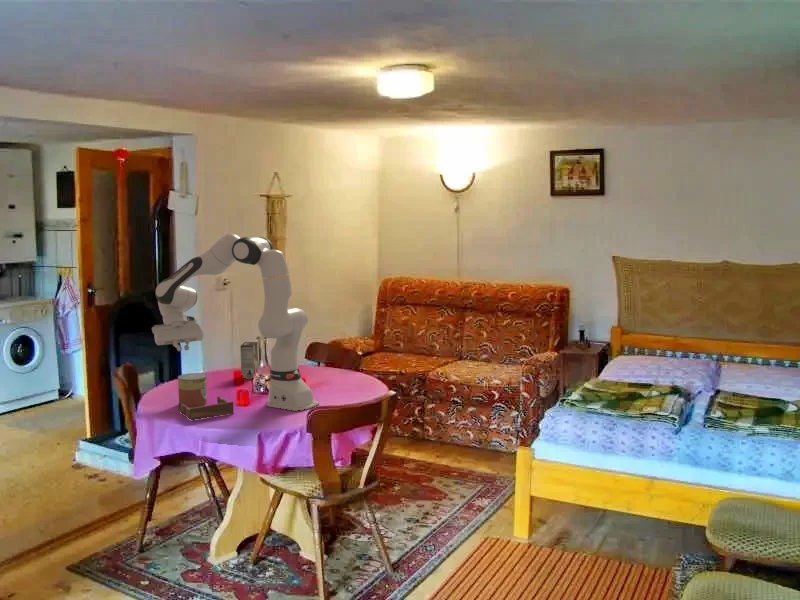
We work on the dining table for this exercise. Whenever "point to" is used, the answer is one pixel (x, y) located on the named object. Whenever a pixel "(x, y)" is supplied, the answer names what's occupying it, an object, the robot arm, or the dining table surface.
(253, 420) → the dining table surface
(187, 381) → the canned food
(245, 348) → the coffee box
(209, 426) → the dining table surface
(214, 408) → the box
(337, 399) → the dining table surface
